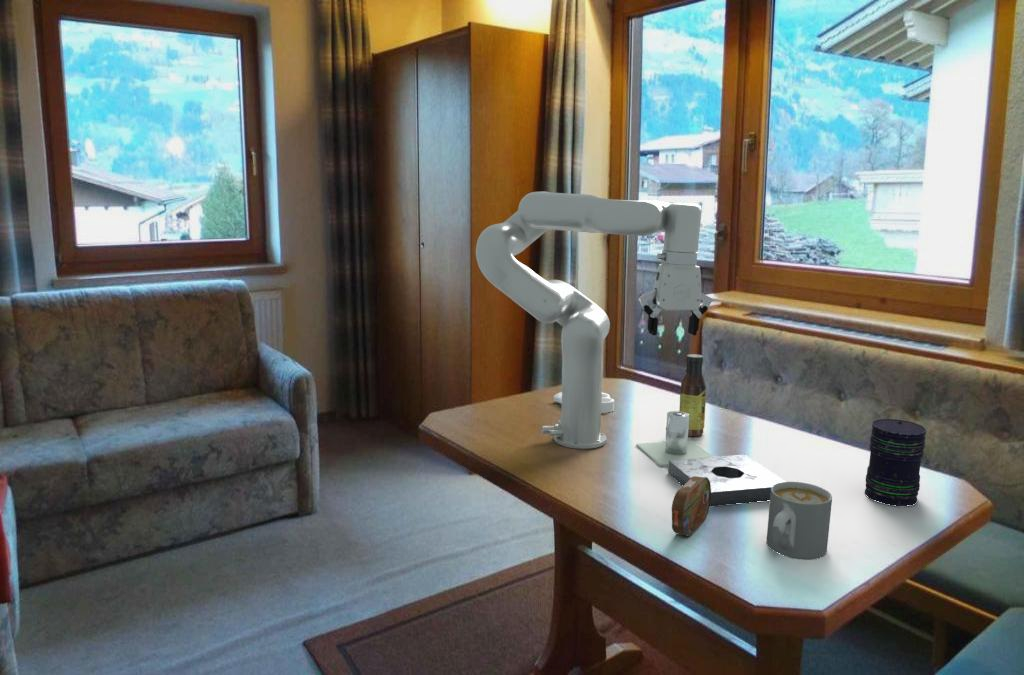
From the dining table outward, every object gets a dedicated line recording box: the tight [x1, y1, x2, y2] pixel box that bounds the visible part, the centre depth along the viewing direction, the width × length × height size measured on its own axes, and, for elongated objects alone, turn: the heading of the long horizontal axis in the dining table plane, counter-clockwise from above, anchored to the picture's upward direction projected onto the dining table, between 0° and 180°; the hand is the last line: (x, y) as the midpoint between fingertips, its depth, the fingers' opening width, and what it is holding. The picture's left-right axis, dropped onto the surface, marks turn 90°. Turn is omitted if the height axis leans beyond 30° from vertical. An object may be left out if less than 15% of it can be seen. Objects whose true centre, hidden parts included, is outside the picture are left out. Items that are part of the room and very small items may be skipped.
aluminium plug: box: [664, 410, 689, 455], centre depth 182 cm, size 5×5×9 cm
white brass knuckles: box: [552, 391, 615, 414], centre depth 221 cm, size 3×18×15 cm
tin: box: [671, 476, 711, 537], centre depth 145 cm, size 15×3×8 cm, turn 148°
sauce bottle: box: [678, 353, 707, 437], centre depth 196 cm, size 6×6×20 cm
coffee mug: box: [766, 481, 833, 561], centre depth 136 cm, size 13×10×10 cm
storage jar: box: [864, 418, 927, 507], centre depth 159 cm, size 10×10×15 cm
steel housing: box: [667, 454, 786, 507], centre depth 164 cm, size 18×18×3 cm
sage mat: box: [635, 439, 714, 468], centre depth 183 cm, size 14×14×1 cm
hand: (672, 334), depth 180 cm, fingers open, 9 cm apart
